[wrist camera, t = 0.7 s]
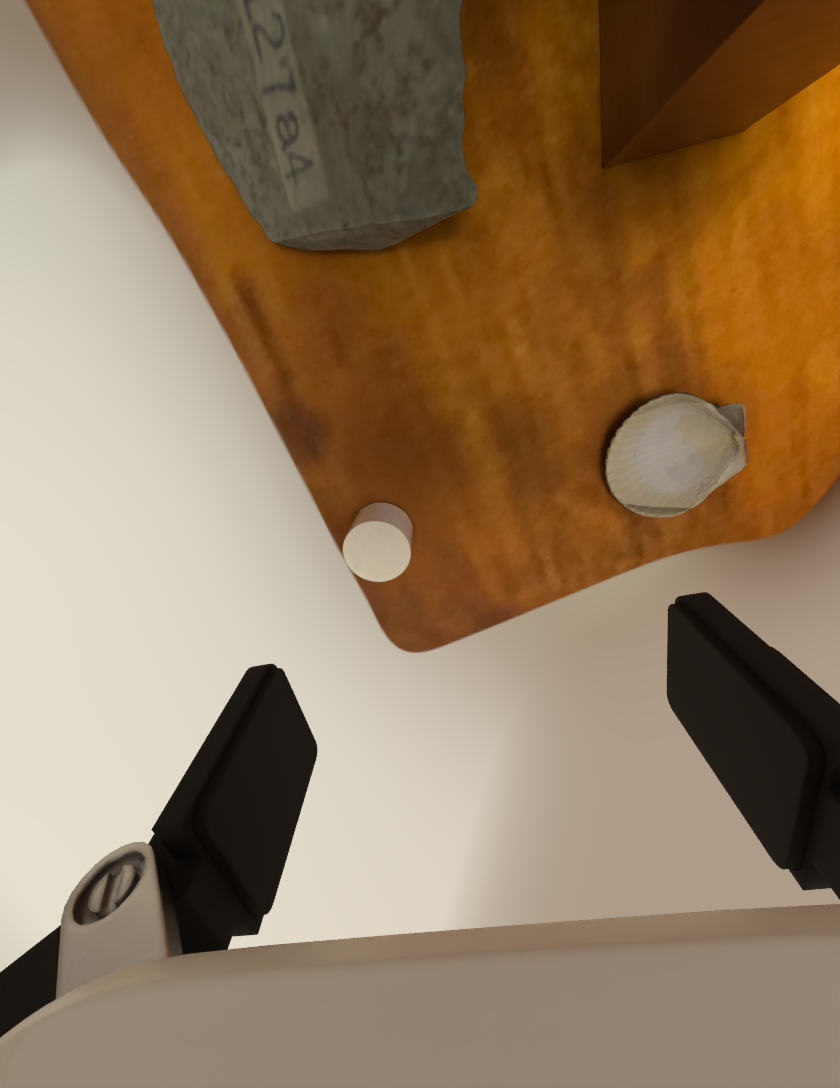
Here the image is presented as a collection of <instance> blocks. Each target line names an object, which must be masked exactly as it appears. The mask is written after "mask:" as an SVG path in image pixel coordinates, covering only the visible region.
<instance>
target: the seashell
mask: <svg viewBox="0 0 840 1088" xmlns="http://www.w3.org/2000/svg"><path fill="white" fill-rule="evenodd" d="M745 424H746V418H745V406H744V405H743V404H742V403H739V404H738V403H736V404H731V403H730V404H726V405H724V406H718V405H716V404H712V403H711V404H710V403H709V402H707V401H704V400H702V399H701V398H697V396H694V395H691V394H687V393H674V394H671V395H668V394H666V395H663V396H660V397H658V398H655V399H653V400H650V401H649V402H647V403H645V404H642V405H641V406H640V407H639V408H638V409H636V410H635V411H633V412H632V413H631V414H630V416H629V417H628V418H627V419H626V420H625V421H624V422H623V423H622V426H621V427H620V428H618V429H617V431H616V432H615V436H614V437H613V438H612V439H611V442H610V447H609V448H608V449H607V454H606V456H607V459H606V460H605V466H606V471H605V476H606V477H607V480H606V483H607V484H608V486H609V487H610V492H611V493H612V495H614V497H615V499H616V500H617V501H618V502H619V503H621V504H622V505H623V506H624V507H626V508H627V509H629V510H630V511H632V512H634V513H638V514H640V515H644V516H648V517H671V516H677V515H679V514H681V513H683V512H685V511H687V510H690V509H692V508H694V507H695V506H697V505H698V504H699V503H701V502H702V501H703V500H704V499H705V498H707V497H708V496H709V495H710V493H711V492H712V491H713V490H714V489H715V488H717V487H718V486H720V485H722V484H723V483H724V482H726V481H727V480H728V479H729V478H730V477H732V476H733V475H735V474H736V473H738V472H739V471H741V470H742V468H743V467H745V466H746V465H747V463H748V453H747V446H746V439H745V438H744V433H745Z"/></svg>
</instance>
